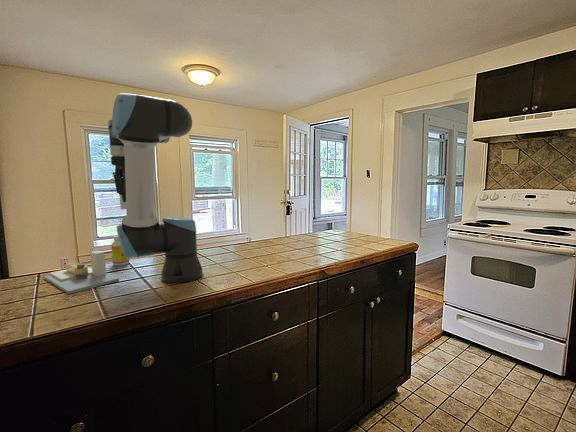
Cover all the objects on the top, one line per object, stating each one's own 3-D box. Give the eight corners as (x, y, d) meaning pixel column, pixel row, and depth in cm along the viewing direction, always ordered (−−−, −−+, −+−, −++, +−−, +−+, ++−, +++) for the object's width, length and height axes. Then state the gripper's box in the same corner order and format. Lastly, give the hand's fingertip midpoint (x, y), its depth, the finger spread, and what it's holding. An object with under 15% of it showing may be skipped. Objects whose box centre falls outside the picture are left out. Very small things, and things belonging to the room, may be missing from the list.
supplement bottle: (122, 266, 131) (120, 237, 129) (109, 265, 132) (106, 237, 130) (133, 262, 137) (131, 234, 136) (120, 261, 139) (118, 234, 137)
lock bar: (90, 274, 113) (89, 267, 113) (77, 277, 110) (77, 270, 110) (75, 268, 121) (74, 261, 121) (63, 270, 118) (62, 264, 118)
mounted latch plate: (119, 280, 112) (117, 254, 111) (68, 294, 99) (65, 264, 98) (90, 268, 128) (88, 245, 127) (44, 278, 115) (41, 253, 114)
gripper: (136, 156, 132) (139, 209, 135) (122, 157, 140) (126, 207, 143) (118, 155, 126) (122, 210, 129) (105, 156, 134) (109, 208, 137)
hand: (124, 209), depth 136 cm, fingers closed
